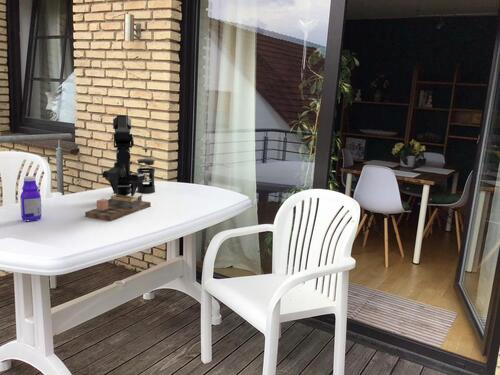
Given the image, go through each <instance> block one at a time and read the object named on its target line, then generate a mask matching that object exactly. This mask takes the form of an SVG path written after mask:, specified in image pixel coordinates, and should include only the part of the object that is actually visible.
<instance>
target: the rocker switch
mask: <svg viewBox="0 0 500 375" xmlns="http://www.w3.org/2000/svg"><path fill="white" fill-rule="evenodd" d="M127 196H131V193H130V194H128V195H127ZM139 196H142V197H144V194H142V193H138V192H135V194H134V196H131V197H137V200H138V197H139Z"/></svg>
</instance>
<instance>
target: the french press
mask: <svg viewBox="0 0 500 375" xmlns="http://www.w3.org/2000/svg"><path fill="white" fill-rule="evenodd" d="M142 150H144V152H145V153H147V152H148V150H151V149H150V148H148V147H147V148H146V147H144V148H142ZM136 161H137V164H138V165H139V164H145V165H146V166H153V165H155V161H156V160H155V159H152V158H140V159H137V160H136ZM155 170H156V169H155V168H154V167H153V168H152V167H140V168H139V167H138V168H137V169H136V173H141V174H148V177H145V180H143V181H142V182H140V184H139V185H138V187H137V189H136V193H141V194H143V195H145V194H147V195H148V194H153V193H156V186H155Z"/></svg>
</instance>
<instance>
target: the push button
mask: <svg viewBox="0 0 500 375" xmlns="http://www.w3.org/2000/svg"><path fill="white" fill-rule="evenodd" d="M110 199H111V200H117V201H124V202H130V203H132V202H135V201H137V197H131V196H124V195H118V194H112V195H111V196H110Z"/></svg>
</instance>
